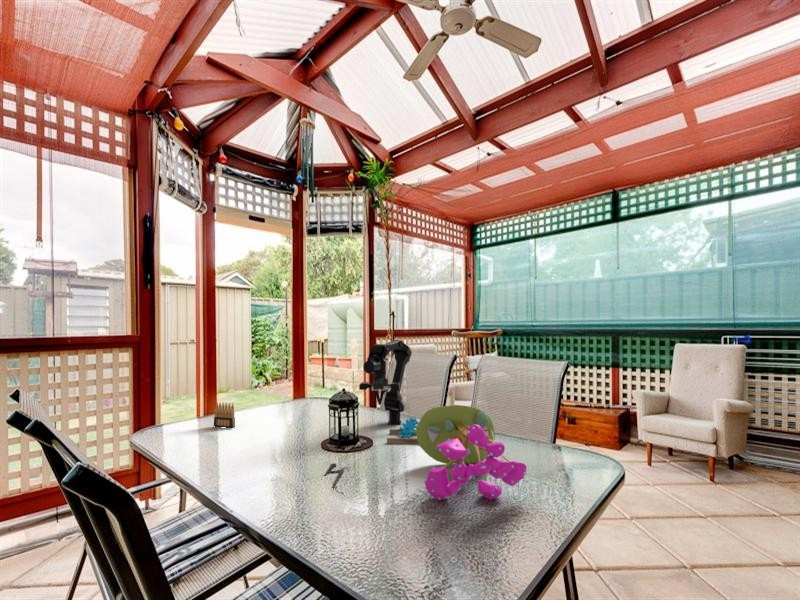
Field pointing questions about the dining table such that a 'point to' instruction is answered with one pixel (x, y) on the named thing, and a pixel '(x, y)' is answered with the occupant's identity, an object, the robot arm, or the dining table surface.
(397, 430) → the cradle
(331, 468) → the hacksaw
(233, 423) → the ammunition clip
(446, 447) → the pink berry cluster
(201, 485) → the dining table surface
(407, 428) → the blue flower
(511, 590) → the dining table surface
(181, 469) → the dining table surface
